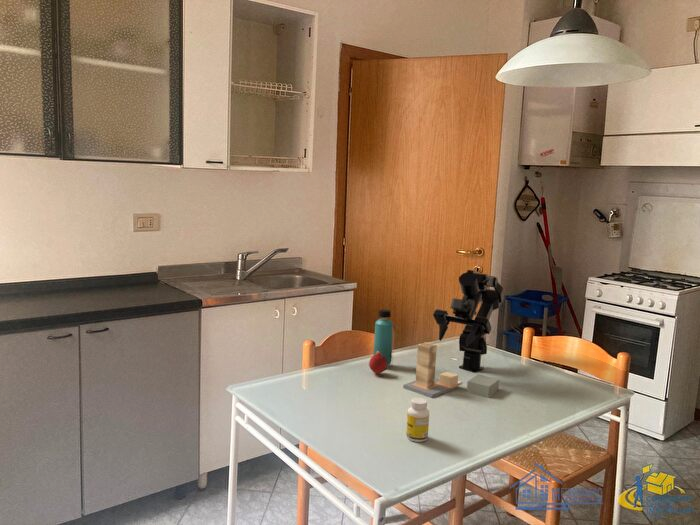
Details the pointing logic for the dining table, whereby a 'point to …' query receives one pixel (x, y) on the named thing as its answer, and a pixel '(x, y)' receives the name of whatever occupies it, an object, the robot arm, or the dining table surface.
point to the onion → (378, 363)
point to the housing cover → (483, 385)
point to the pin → (426, 364)
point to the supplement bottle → (418, 420)
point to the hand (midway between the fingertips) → (452, 342)
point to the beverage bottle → (384, 336)
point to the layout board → (436, 385)
